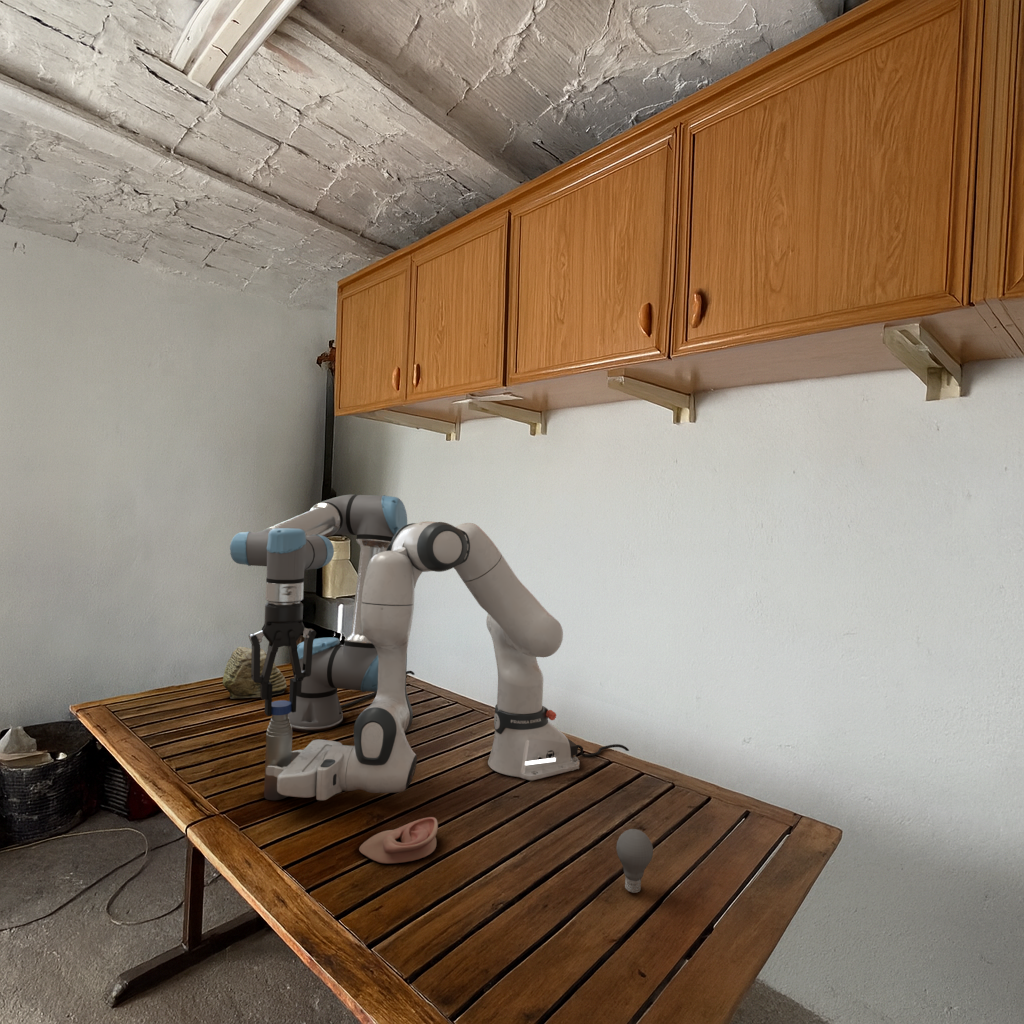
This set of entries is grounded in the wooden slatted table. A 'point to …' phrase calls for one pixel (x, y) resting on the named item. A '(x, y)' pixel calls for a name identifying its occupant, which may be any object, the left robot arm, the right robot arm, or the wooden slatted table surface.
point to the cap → (281, 707)
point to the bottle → (277, 752)
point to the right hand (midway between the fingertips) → (274, 762)
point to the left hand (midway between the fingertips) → (280, 711)
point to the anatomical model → (403, 842)
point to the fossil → (249, 675)
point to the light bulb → (634, 857)
